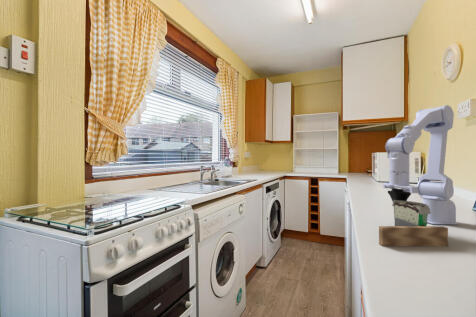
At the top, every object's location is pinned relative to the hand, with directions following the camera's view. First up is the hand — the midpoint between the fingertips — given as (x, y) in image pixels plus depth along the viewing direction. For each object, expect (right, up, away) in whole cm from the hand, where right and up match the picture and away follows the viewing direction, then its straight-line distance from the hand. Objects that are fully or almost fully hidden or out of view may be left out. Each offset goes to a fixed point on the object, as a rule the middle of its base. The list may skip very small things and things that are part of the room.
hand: (399, 211), depth 79 cm
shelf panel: (-7, -6, -15) cm, 18 cm away
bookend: (-7, -6, -10) cm, 13 cm away
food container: (0, -6, -7) cm, 9 cm away
